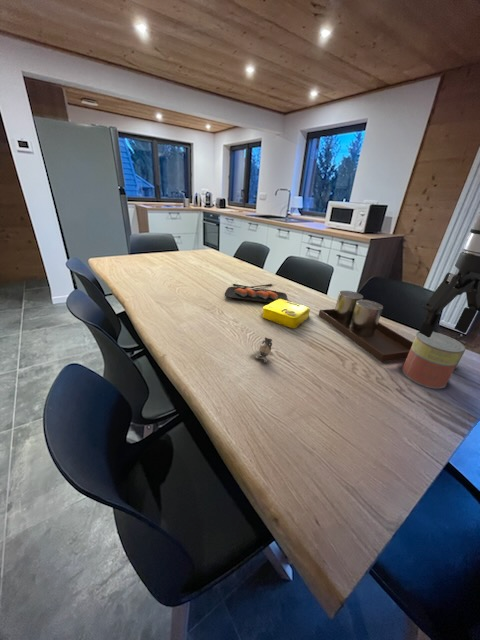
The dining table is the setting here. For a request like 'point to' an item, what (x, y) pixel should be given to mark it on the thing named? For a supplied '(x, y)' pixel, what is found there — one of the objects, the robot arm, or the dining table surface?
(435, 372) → the canned food
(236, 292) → the sushi plate
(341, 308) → the tin
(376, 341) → the tray
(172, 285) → the dining table surface
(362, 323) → the tin
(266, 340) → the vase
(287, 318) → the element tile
